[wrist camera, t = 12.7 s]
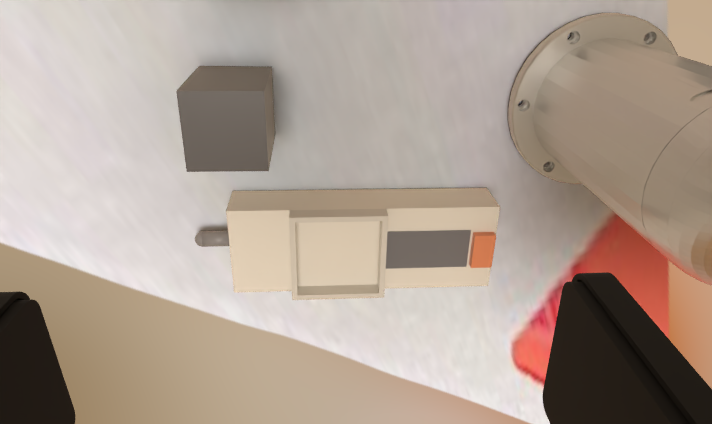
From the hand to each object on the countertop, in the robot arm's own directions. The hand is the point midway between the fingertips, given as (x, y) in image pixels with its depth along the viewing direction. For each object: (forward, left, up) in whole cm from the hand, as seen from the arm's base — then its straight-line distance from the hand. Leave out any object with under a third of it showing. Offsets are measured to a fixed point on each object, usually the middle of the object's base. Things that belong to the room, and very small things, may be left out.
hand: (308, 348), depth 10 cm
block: (+5, +4, -31) cm, 31 cm away
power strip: (-2, +14, -31) cm, 34 cm away
